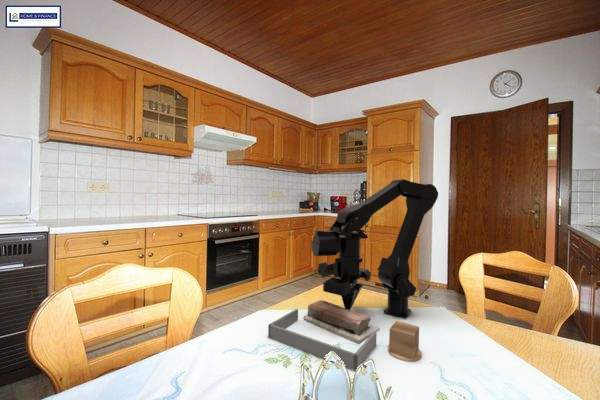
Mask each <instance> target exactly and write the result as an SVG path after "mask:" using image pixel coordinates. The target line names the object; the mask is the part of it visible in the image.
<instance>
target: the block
mask: <svg viewBox="0 0 600 400" xmlns="http://www.w3.org/2000/svg"><path fill="white" fill-rule="evenodd" d="M388 335H389V341H388V345H389V352H391V353H394V354H397V355H400V356H403V357H406V358H409V359H412V360H414V358H415V356H416V354H417V352H418V350H420V348H419V347H420V326H418V325H414V324H412V323H411V324H410V323H407V322H403V321H400V320H395V322H393V324H392V325H391V326H390V328H389V334H388ZM389 352H388V353H389Z"/></svg>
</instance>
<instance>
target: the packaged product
mask: <svg viewBox="0 0 600 400" xmlns="http://www.w3.org/2000/svg"><path fill="white" fill-rule="evenodd" d="M303 319H304V320H303V321H305V320H306V321H305V322H307V321H308V322H307V323H309V322H310V323H309V324H312V325H314V326H315V327H316V326H317V327H318V328H319V329H323V330H325V331H328V332H330V333H332V334H334V335H337V336H339V337H340V338H344V339H346V340H347V341H349V342H353V343H355V344H357V345H360V344H362V343H364V342H365V341H366V340H367V339H368V338H369V337H370V336H371V335H372V333H373V332H377V333H378V332H379V331H380V327H377V326H374V325H372V324H369V323H370V321H371V317H370V316H367V315H364V314H361V313H359V312H356V311H354V310H348V309H346V308H345V307H344V306H340V305H337V304H335V303H332V302H329V301H327V300H323V299H322V300H317V301H315V302H312V303H310V304H308V306H307V314H306V315H304V316H303Z"/></svg>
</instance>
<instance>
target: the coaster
mask: <svg viewBox="0 0 600 400" xmlns="http://www.w3.org/2000/svg"><path fill="white" fill-rule="evenodd" d="M387 352H388V353H389V355H390V356H392V357H394V358H396V359H397V360H400V361H404V362H417V361H419V360H421V359H422V356H423V354H422V351H421V349H419V350H418V352H417V354H416V356H415V358H414V360H412V359H409V358H406V357H403V356H400V355H397V354H394V353H391V352H389V344H388V345H387Z"/></svg>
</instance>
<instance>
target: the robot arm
mask: <svg viewBox="0 0 600 400" xmlns="http://www.w3.org/2000/svg"><path fill="white" fill-rule="evenodd" d="M400 196H401V197H404V198H405V204H406V213H405V215H404V218H403V220H402V224H401V227H400V229H399V232H398V235H397V238H396V241H395V242H394V243H395V244H394V246H393V249H392V252H391V253H390V255H389V256H388V257H387V258H386V257H382V258H381V259H380V264H379V266H378V268H377V269H376V270H377V277H378V279H379V281H380V282H381V285H382V287H383V288H384V289H386V290H387V307H385V308H384V310H383V313H385V314H389V315H392V316H396V317H400V318H404V319H407V318H408V316H409V315H410V314H411V312H412V308H409V298H410V297H411V296H415V294H416V291H417V287H416V286H415V285H414V284H413V283H412V282H411V281H410V279H409V278H410V273H411V271H410V265H409V264H410V263H409V260H410V256H411V254H412V252H413V248H414V245H415V243H416V239H417V237H418V234H419V231H420V228H421V225H422V223H423V220H424V216H425V215H426V214H427V213H428V212H429V211H430V210H432V209H433V207H434V205H435V203H436V202H437V200H438V197H439V192H438V189H437V187H436V186H435V185H433V184H432V183H427V184H426V183H425V184H423V183H421V182H419V183H418V182H416V181H415V182H414V181H411V180H407V179H404V178H401V179H400V178H399V179H393V180H392V181H391V182H390V183H388V184H387V185H385V186H384V187H382V188H380V190H378V191H376V192H375V193H374V194H372V195H371V196H368V198H366V199H365V200H363V201H361V202H358V203H357V204H356V203H355V204H352V205H350V206H347V207H345V208H343V209H341V210H339V212H338V213H337V217H336V220H335V221H334V223H333V224H331V226H330V228H329V230H320V229H316V230H315V231H314V235H313V237H312V240H311V244H310V245H311V252H312V254H313V256H314V257H324V256H325V257H326V256H327V257H328V256H337V255H338V257H336V258H335V259H334V261H332V262H329V263H327V261H325V262H320V263H318V267H317V273H318V275H320V276H321V278H326V277H329V276H333V277H331V278H329V279H326V280H325V281H324V282H323V283H322V291H323V292H325V293H328V294H332V295H337V296H341V300H342V304H343V308H346V309H348V310H351V309H353V305H354V303H355V301H356V299H357V298H358V296H359V294H360V291H362V288H363V287H364V285H363V284H361V283H359V281H358V280H359V279H361V278H363V279H364V280H365V282H369V281H371V280H372V279H371V277H372V276H371V275H372V273H371V271H370V270H369V269H368V268H362V267H360V264H361V263H362V262H363V257H361V239H368V238H369V237H368V235H367V234H366V233H365V232H364V230H363V228H364V226H366V225H367V224H368V223H369V221H370V220H371V217H372V216H373V215H374V214H375V213H377V212H378V211H380V210H381V209H383V208H384V207H386V206H387V205H389V204H390V203H391V202H393V201H395V200H396V199H398V197H400ZM351 311H352V310H351Z"/></svg>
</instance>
